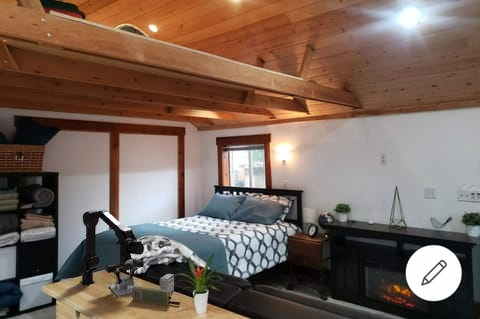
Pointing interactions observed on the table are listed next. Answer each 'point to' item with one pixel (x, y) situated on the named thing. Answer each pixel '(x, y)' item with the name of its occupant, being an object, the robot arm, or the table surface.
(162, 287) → the medicine box
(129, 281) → the block
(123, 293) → the pin cradle
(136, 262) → the robot arm
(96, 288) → the table surface
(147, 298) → the handheld radio
